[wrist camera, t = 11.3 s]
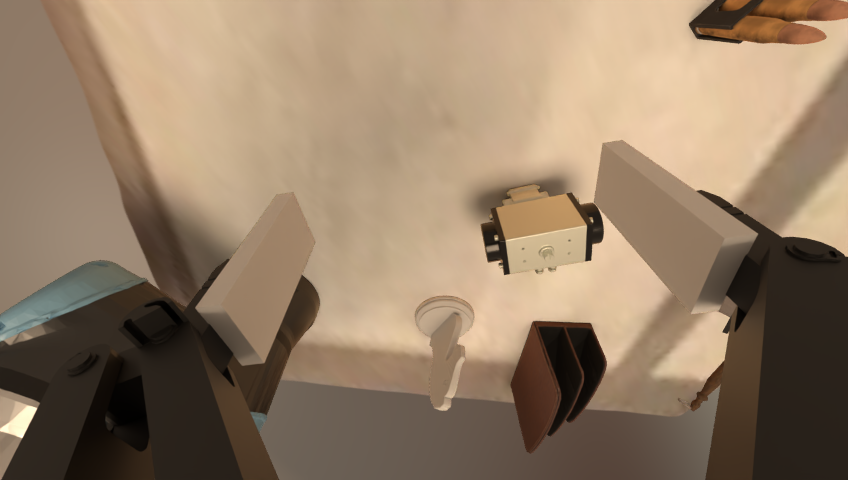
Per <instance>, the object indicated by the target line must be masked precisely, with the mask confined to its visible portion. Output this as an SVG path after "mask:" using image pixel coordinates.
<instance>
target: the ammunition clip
mask: <svg viewBox="0 0 848 480" xmlns="http://www.w3.org/2000/svg"><path fill="white" fill-rule="evenodd" d="M845 18H848V2H844V1H839V0H715V1H714V2H713V3H712V4H711V5H709V6H708V7H707V8H706V9H705V10H704V11H703V12H702V13H701V14H699V15H698V16H697V17H696V18H695V19H694V20H693V21H692V22H691V23H689V26H690V28H691V29H692V31H693V33H694V34H695V36H696V37H697V39H703V40H713V41H721V42H730V43H738V44H739V43H741V42H742V41H749V42H756V43H763V44H764V43H786V44H809V43H815V42H819V41H822V40H824V39H826V35H825V33H823V32H822V31H821V30H819V29H817V28H814V27H811V26H807V25H803V24H796V23H791V22H795V21H812V20H813V21H832V20H839V19H845Z"/></svg>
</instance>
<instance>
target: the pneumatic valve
mask: <svg viewBox="0 0 848 480" xmlns="http://www.w3.org/2000/svg"><path fill="white" fill-rule="evenodd" d="M539 189H540V186H539V185H537V186H536V185H535V184H533V185H529V186H524V187H519V188H514V189H509V191H508V192H507V196H510V199H505V200H502V204H503V206H502V207H497V208H492V209H491V215H489V219H490V220H492V221H493V222H488V223H483V224H481V231H482V236H483V241H484V247H485V252H486V257H487V261H488V263H489V262H495V261H500V262H501V263H499V268H503V272H504V275H508V274H513V273H519V272H525V271H531V270H535V272H536V273H537V274H542V273H543V268H548V270H549V271H550V272H555V271H556V266H561V265H567V264H573V263H579V262H585V261H591V256H592V244H597V243H601V242H602V240H603V235H604V228H603V221H602V217H601V214H600V212H599V209H598V208H597V206H596V205H595V204H594V203H586V204H581V205H580V204H579V198H575V197H574V195H573V194H572V193H567V194H562V195H557V196H552V197H549V195H548V193H547V192H546V191H545V192H540V193H539V192H538V190H539Z"/></svg>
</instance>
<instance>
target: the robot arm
mask: <svg viewBox="0 0 848 480" xmlns="http://www.w3.org/2000/svg"><path fill="white" fill-rule="evenodd" d="M594 203H595V204H596V205H597V206H598V208H599V209H600V210H601V211H602V212H603V213H604V214H605V216H606V217H607V218H608V219H609V220H610V221H611V223H612V224H613V225H614V226H615V227H616V228H617V230H618V231H619V232H620V233H621V234H622V235H623V236H624V238H625V239H626V240H627V241H628V242H629V243H630V245H631V246H632V247H633V248H634V249H635V250H636V251H637V253H638V254H639V255H640V256H641V257H642V258H643V260H644V261H645V262H646V263H647V264H648V265H649V266H650V268H651V269H652V270H653V271H654V272H655V273H656V275H657V276H658V277H659V278H660V279H661V280H662V282H663V283H664V284H665V285H666V286H667V287H668V288H669V290H670V291H671V292H672V293H673V294H674V295H675V297H676V298H677V299H678V300H679V301H680V302H681V303H682V305H683V306H684V307H685V308H686V309H687V310H688V312H689V313H690V314H696V313H705V312H714V311H719V309H720V307H721V305H722V303H723V301H724V299H725V297H726V295H727V296H728V297H729V298H730V299H731V300H732V301H733V302H734V303H735V304H736V305H737V306H736V308H735V310H734V312H733V314H732V315H731V317H730V319H729V321H728V323H727V325H726V326H725V328H724V330H723V333H726V334H727V333H728V332H729V336H728V342H727V349H726V355H725V361H724V367H723V373H722V380H721V386H720V392H719V399H718V405H717V411H716V417H715V423H714V429H713V436H712V442H711V448H710V454H709V461H708V467H707V473H706V479H705V480H848V257H845V255H844V254H843V253H841V252H840V251H838V250H837V249H835V248H834V247H831V246H829V245H827V244H824V243H822V242H819V241H815V240H811V239H807V238H798V237H783V238H782V237H780V236H779V235H777V234H776V233H774V232H773V231H771V230H770V229H768V228H767V227H765V226H764V225H762V224H761V223H759V222H757V221H756V220H754V219H753V218H751V217H750V216H748V215H747V214H744V212H742V211H741V210H739V209H738V208H736V207H733V205H732V204H730V203H728V202H727V201H725V200H724V199H722V198H721V197H719V196H716V195H714V194H711V193H708V192H705V191H703V190H699V191H695V190H694V189H692V188H691V187H690V186H688V185H687V184H685V183H684V182H682V181H681V180H679V179H678V178H677V177H675V176H674V175H672V174H671V173H669V172H668V171H666V170H665V169H663V168H662V167H661V166H659V165H658V164H656V163H655V162H653V161H652V160H650V159H649V158H648V157H646V156H645V155H643V154H642V153H640V152H639V151H637V150H636V149H635V148H633V147H632V146H630V145H629V144H627V143H626V142H624V141H623V140H620V141H614V142H607V143H603V145H602V152H601V158H600V165H599V171H598V178H597V184H596V191H595V198H594ZM314 245H315V240H314V238H313V236H312V233H311V231H310V229H309V227H308V224H307V222H306V220H305V218H304V215H303V213H302V211H301V208H300V206H299V204H298V202H297V199H296V197H295V195H294V192H292V193H285V194H279V195H276V197H275V198H274V199H273V201H272V202H271V204H270V205H269V206H268V208H267V209H266V210H265V212H264V213H263V215H262V216H261V217H260V219H259V220H258V222H257V223H256V224H255V226H254V227H253V228H252V230H251V231H250V233H249V234H248V235H247V237H246V238H245V239H244V241H243V242H242V244H241V245H240V246H239V248H238V249H237V251H236V252H235V253H234V255H233V256H232V257H231V259H227V260H226V261H225V262H223V263H222V264H221V265H220V266H219V267H217V268H216V269H215V270H214V272H213V273H212V274H211V276H210V277H209V278H208V281H206V282H205V284H204V285H203V286H202V290H199V292H198V293H197V294H196V296H195V297H194V298H193V300H192V301H191V302H190V304H189V305H188V306H187V308H186V307H185V306H183V305H181V304H180V303H178V302H177V301H175V300H174V299H172V298H171V297H169V296H168V295H166V294H165V293H163V292H162V291H161V290H159V289H158V288H156V287H154V286H153V285H152V284H150V283H149V282H148V280H147V279H145V278H140V277H138V276H137V275H135V274H133V273H131V272H129V271H127V270H126V269H124V268H123V267H121V266H119V265H118V264H116V263H113V262H110V261H101V260H99V261H92V262H89V263H86V264H84V265H82V266H80V267H78V268H76V269H74V270H73V271H71V272H69V273H67V274H65V275H64V276H62V277H60V278H58V279H57V280H55V281H53V282H52V283H50V284H48V285H47V286H45V287H43V288H42V289H40V290H38V291H37V292H35V293H33V294H32V295H30V296H29V297H27V298H25V299H24V300H22V301H21V302H19V303H18V304H16V305H14V306H13V307H11V308H9V309H8V310H6V311H5V312H3V313H2V314H0V480H279V479H278V476H277V474H276V471H275V469H274V467H273V464H272V462H271V460H270V457H269V455H268V452H267V450H266V448H265V445H264V443H263V441H262V439H261V436H260V434H259V433H260V430H261V428H262V426H263V424H264V422H265V421H266V419H267V413H268V410H269V408H270V405H271V403H272V400H273V397H274V395H275V392H276V389H277V387H278V384H279V382H280V379H281V376H282V374H283V371H284V368H285V366H286V363H287V360H288V358H289V355H290V352H291V350H292V348H293V347H294V346H295V345H296V343H297V342H298V341H299V340H300V338H301V337H302V336H303V335H304V333H305V332H306V331H307V330H308V329H309V328H310V327H311V326H312V325H313V323H314V321H315V319H316V316H317V313H318V310H319V306H320V302H319V297H318V294H317V292H316V290H315V289H314V287H313V286H312V285H311V284H310V283H309V282H308V281H307V280H306V279H305V278H304V277H303V276H301V275H302V273H303V271H304V268H305V266H306V263H307V261H308V259H309V256H310V254H311V252H312V249H313V247H314Z"/></svg>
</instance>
